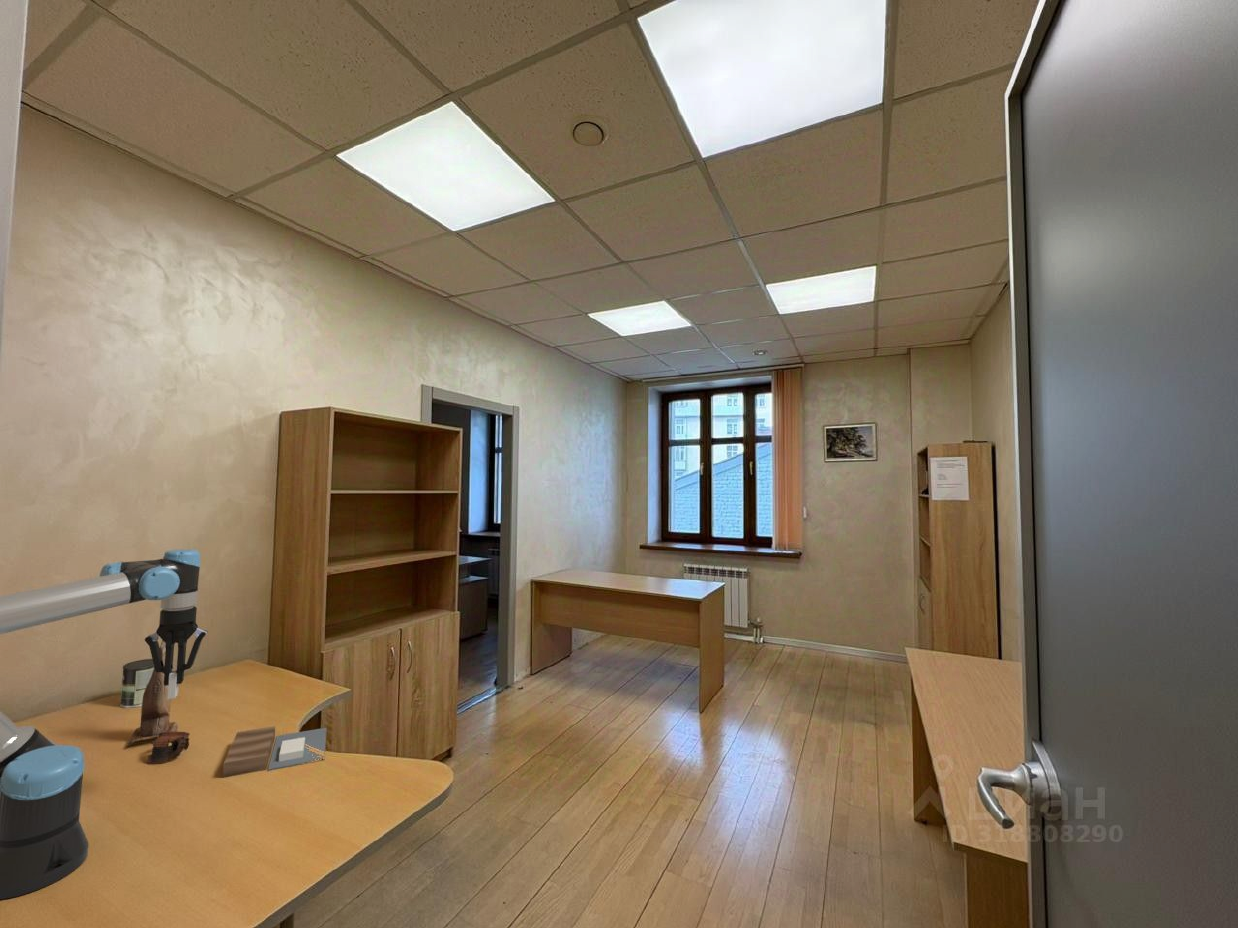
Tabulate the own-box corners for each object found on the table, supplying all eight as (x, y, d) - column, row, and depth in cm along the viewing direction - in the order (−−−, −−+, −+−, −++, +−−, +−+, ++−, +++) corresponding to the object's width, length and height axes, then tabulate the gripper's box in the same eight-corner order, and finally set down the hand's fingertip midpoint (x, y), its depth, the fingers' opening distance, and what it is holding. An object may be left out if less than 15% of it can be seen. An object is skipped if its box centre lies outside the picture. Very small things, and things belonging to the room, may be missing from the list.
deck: (266, 769, 147) (267, 755, 147) (222, 777, 143) (223, 762, 143) (274, 738, 165) (275, 725, 165) (236, 745, 160) (237, 731, 160)
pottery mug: (135, 764, 149) (148, 732, 153) (170, 765, 156) (181, 735, 161) (163, 761, 145) (176, 728, 150) (197, 762, 153) (208, 731, 157)
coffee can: (114, 709, 182) (117, 669, 183) (127, 698, 191) (130, 660, 192) (151, 705, 186) (154, 666, 187) (162, 694, 196) (165, 657, 196)
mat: (324, 759, 153) (324, 758, 153) (267, 770, 147) (267, 769, 147) (326, 728, 173) (326, 727, 173) (276, 736, 166) (277, 735, 166)
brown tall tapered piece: (125, 752, 155) (134, 645, 156) (132, 735, 165) (140, 634, 166) (174, 742, 162) (182, 640, 163) (178, 726, 171) (185, 630, 172)
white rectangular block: (279, 754, 151) (278, 761, 151) (303, 750, 154) (302, 756, 154) (282, 740, 159) (282, 747, 159) (305, 736, 162) (304, 743, 162)
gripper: (212, 602, 145) (206, 687, 144) (152, 606, 139) (145, 695, 138) (206, 608, 138) (199, 697, 137) (142, 612, 132) (135, 706, 131)
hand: (172, 696), depth 137 cm, fingers closed
